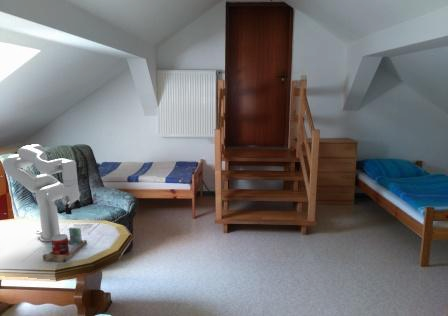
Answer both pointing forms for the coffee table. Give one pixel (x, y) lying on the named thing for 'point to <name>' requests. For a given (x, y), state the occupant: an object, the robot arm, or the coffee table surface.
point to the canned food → (60, 244)
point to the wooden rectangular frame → (74, 238)
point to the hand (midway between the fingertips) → (73, 211)
